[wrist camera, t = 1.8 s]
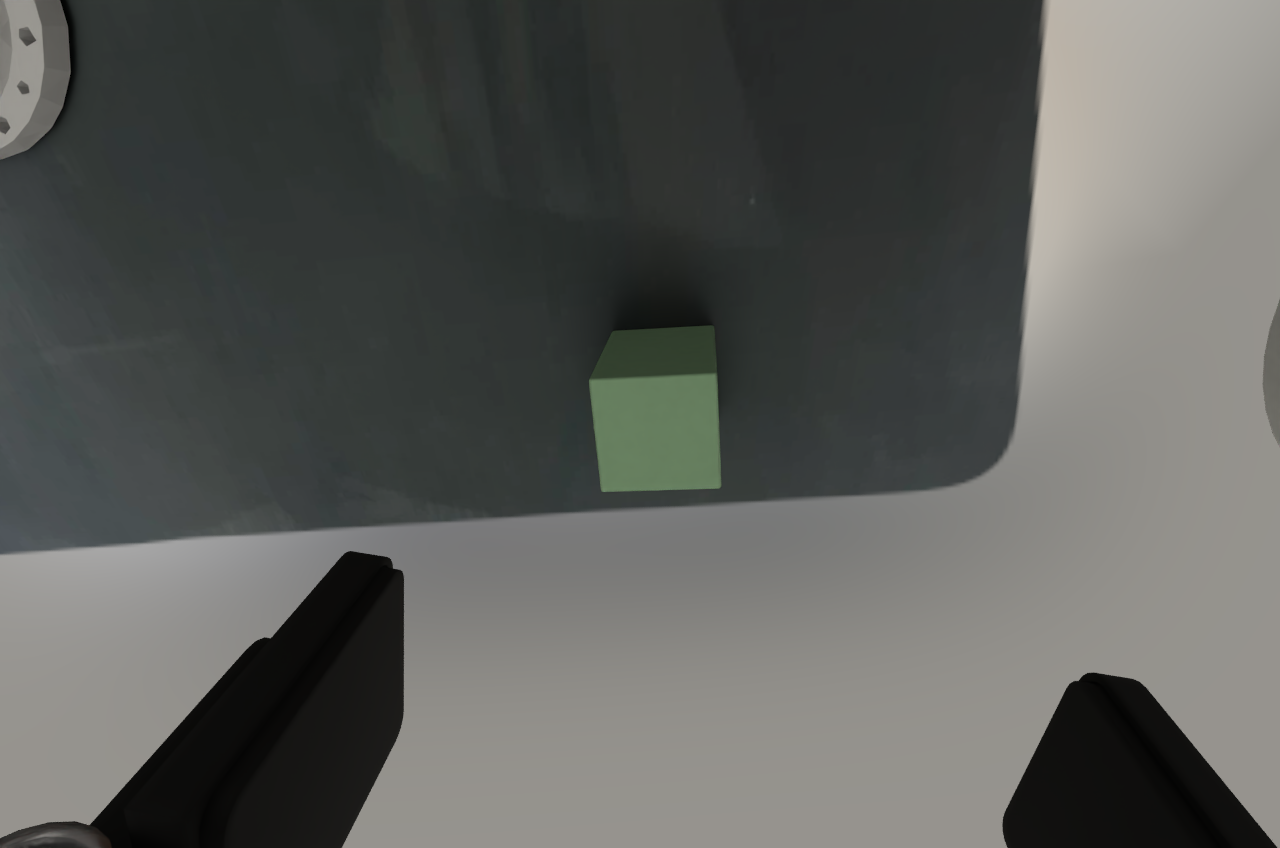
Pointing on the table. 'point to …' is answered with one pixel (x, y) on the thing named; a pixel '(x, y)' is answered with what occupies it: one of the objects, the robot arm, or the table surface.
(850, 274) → the table surface
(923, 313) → the table surface
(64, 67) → the mechanical component
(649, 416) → the green block
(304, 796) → the robot arm
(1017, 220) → the table surface
